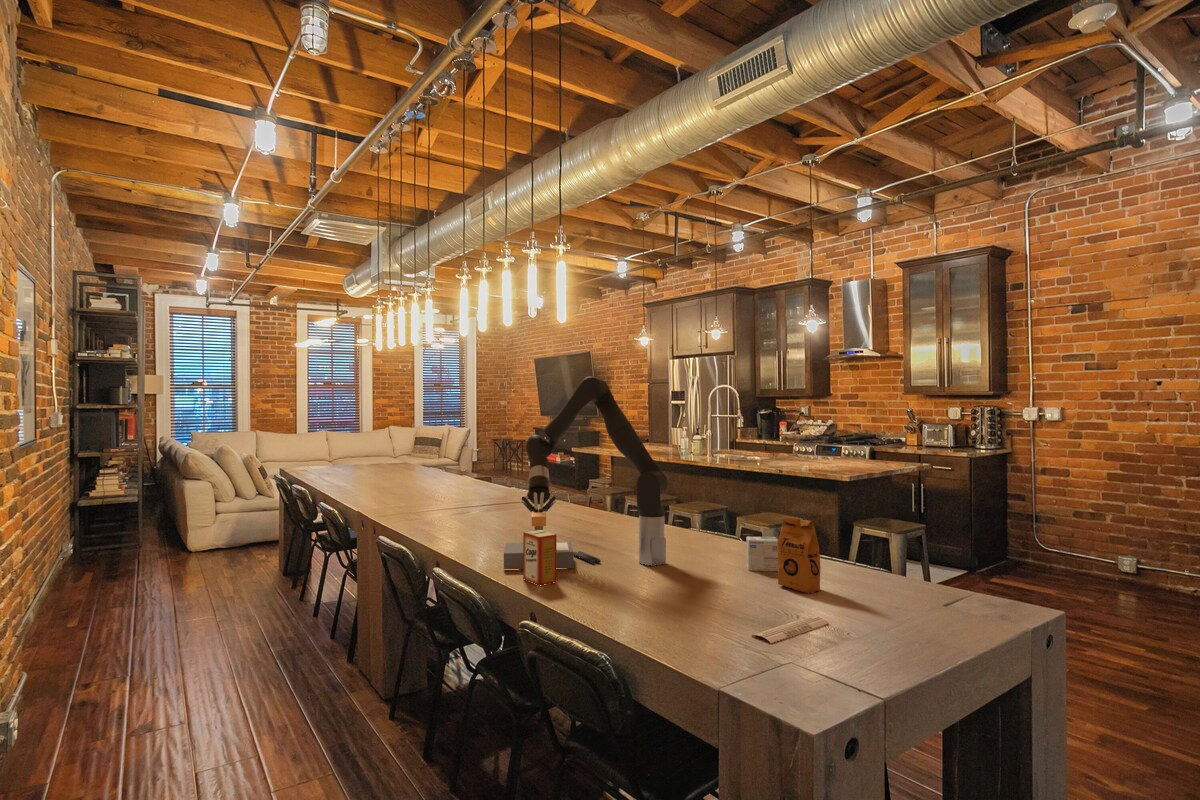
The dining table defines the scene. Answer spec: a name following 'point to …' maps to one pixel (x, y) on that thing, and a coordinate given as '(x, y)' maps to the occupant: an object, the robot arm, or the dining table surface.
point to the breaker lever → (539, 520)
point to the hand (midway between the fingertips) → (538, 520)
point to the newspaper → (792, 629)
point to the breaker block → (515, 555)
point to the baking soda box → (539, 557)
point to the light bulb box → (762, 553)
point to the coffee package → (798, 556)
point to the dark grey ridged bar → (587, 557)
